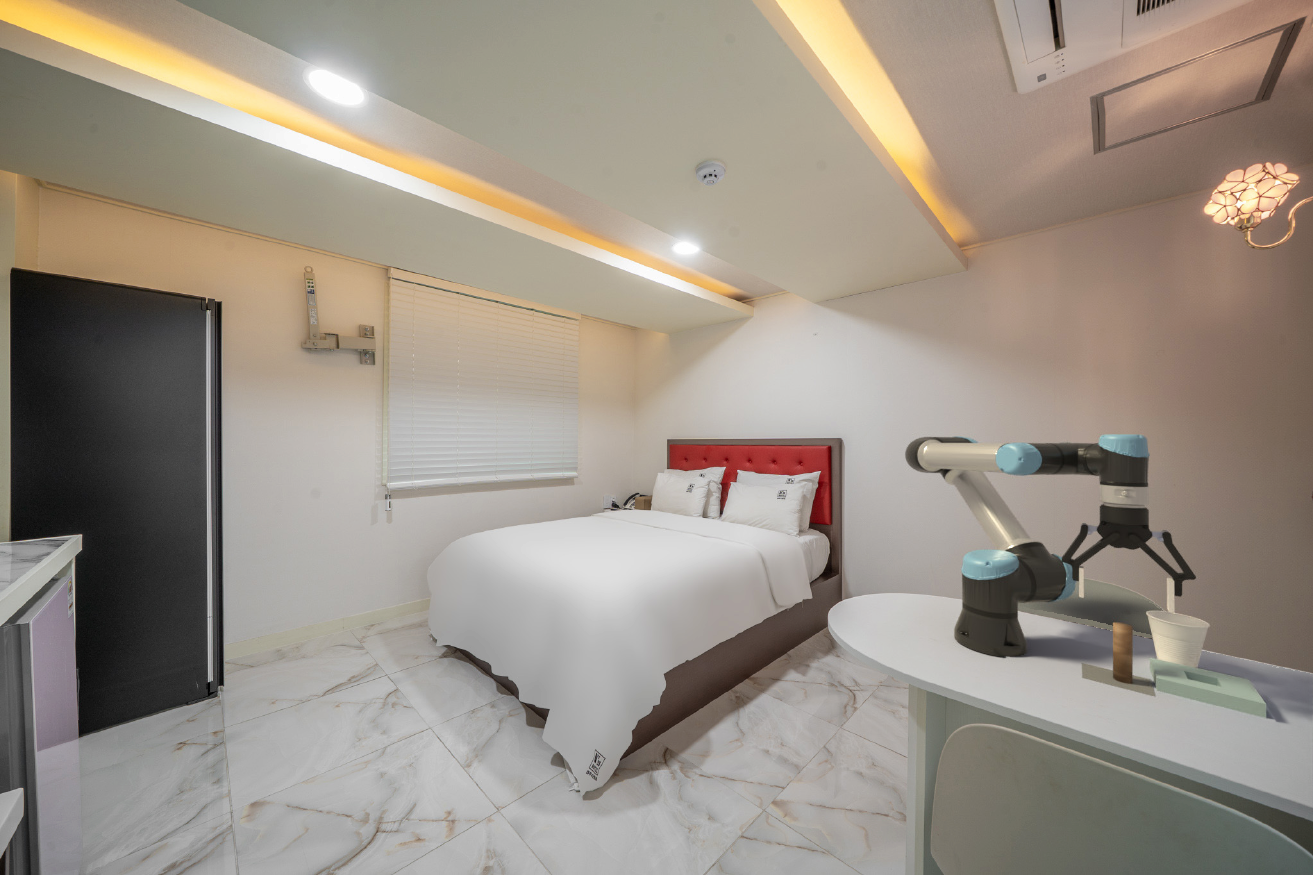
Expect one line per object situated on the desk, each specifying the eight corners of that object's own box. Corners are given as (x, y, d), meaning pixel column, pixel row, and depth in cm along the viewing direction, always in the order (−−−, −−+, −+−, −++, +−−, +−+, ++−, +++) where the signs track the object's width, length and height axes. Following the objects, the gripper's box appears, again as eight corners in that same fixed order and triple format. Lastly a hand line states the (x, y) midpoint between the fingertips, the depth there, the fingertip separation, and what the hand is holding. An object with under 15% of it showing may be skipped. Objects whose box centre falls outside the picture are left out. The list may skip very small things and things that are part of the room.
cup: (1224, 678, 102) (1224, 628, 102) (1170, 673, 104) (1170, 624, 104) (1182, 657, 112) (1183, 611, 112) (1134, 653, 114) (1134, 608, 114)
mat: (1082, 679, 101) (1082, 677, 101) (1081, 664, 108) (1081, 662, 108) (1155, 698, 94) (1155, 696, 94) (1150, 681, 101) (1150, 679, 101)
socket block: (1157, 692, 96) (1157, 677, 96) (1149, 670, 105) (1149, 657, 105) (1266, 719, 87) (1266, 704, 87) (1248, 693, 96) (1248, 679, 96)
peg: (1113, 680, 100) (1113, 625, 100) (1112, 675, 103) (1112, 621, 103) (1133, 685, 98) (1133, 629, 98) (1131, 679, 101) (1131, 624, 100)
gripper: (1047, 501, 106) (1048, 594, 106) (1216, 513, 89) (1217, 623, 89) (1048, 498, 111) (1049, 586, 111) (1208, 508, 95) (1208, 612, 95)
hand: (1124, 603), depth 100 cm, fingers open, 13 cm apart
